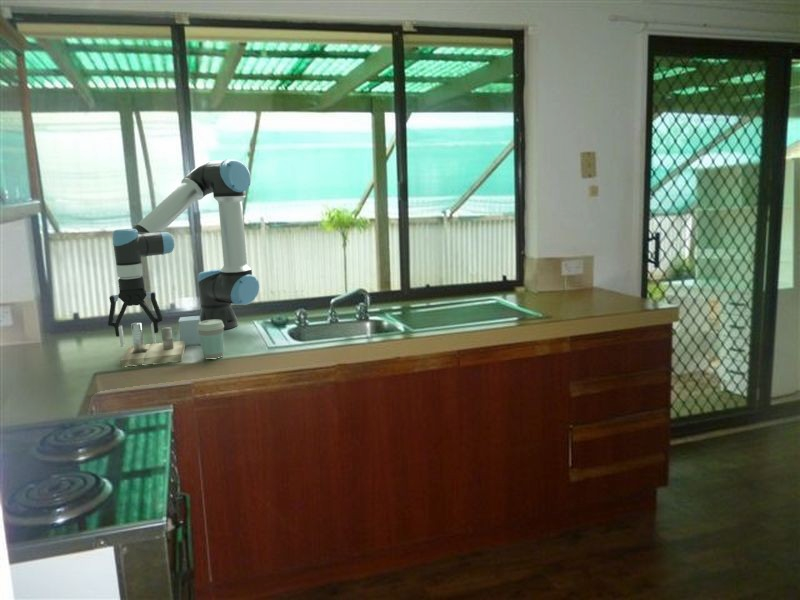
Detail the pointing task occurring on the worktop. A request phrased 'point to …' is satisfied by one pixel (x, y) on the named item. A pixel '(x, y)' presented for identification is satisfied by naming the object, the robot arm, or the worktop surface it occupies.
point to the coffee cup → (211, 337)
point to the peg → (137, 338)
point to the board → (156, 351)
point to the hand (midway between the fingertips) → (138, 344)
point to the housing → (189, 330)
